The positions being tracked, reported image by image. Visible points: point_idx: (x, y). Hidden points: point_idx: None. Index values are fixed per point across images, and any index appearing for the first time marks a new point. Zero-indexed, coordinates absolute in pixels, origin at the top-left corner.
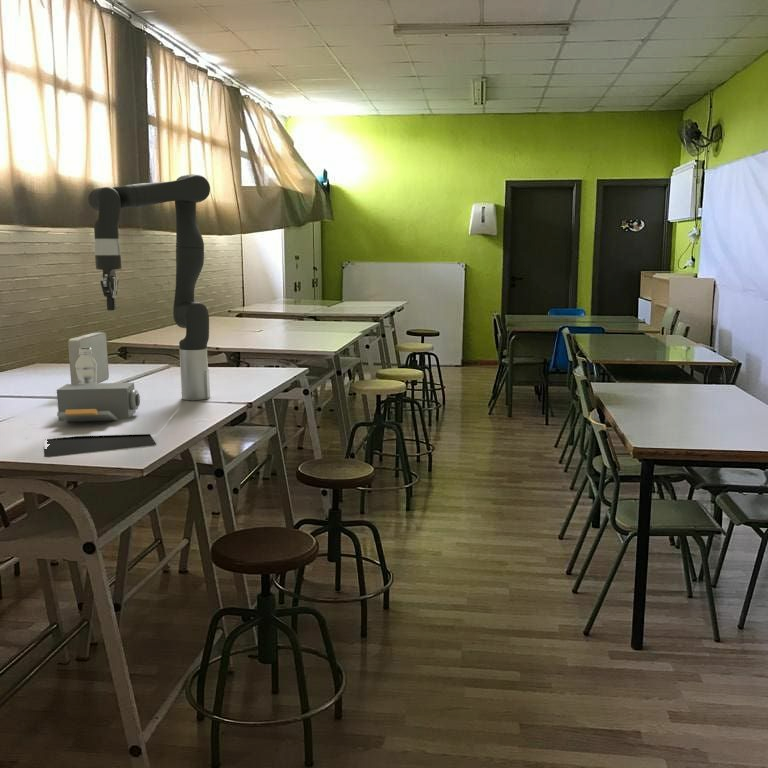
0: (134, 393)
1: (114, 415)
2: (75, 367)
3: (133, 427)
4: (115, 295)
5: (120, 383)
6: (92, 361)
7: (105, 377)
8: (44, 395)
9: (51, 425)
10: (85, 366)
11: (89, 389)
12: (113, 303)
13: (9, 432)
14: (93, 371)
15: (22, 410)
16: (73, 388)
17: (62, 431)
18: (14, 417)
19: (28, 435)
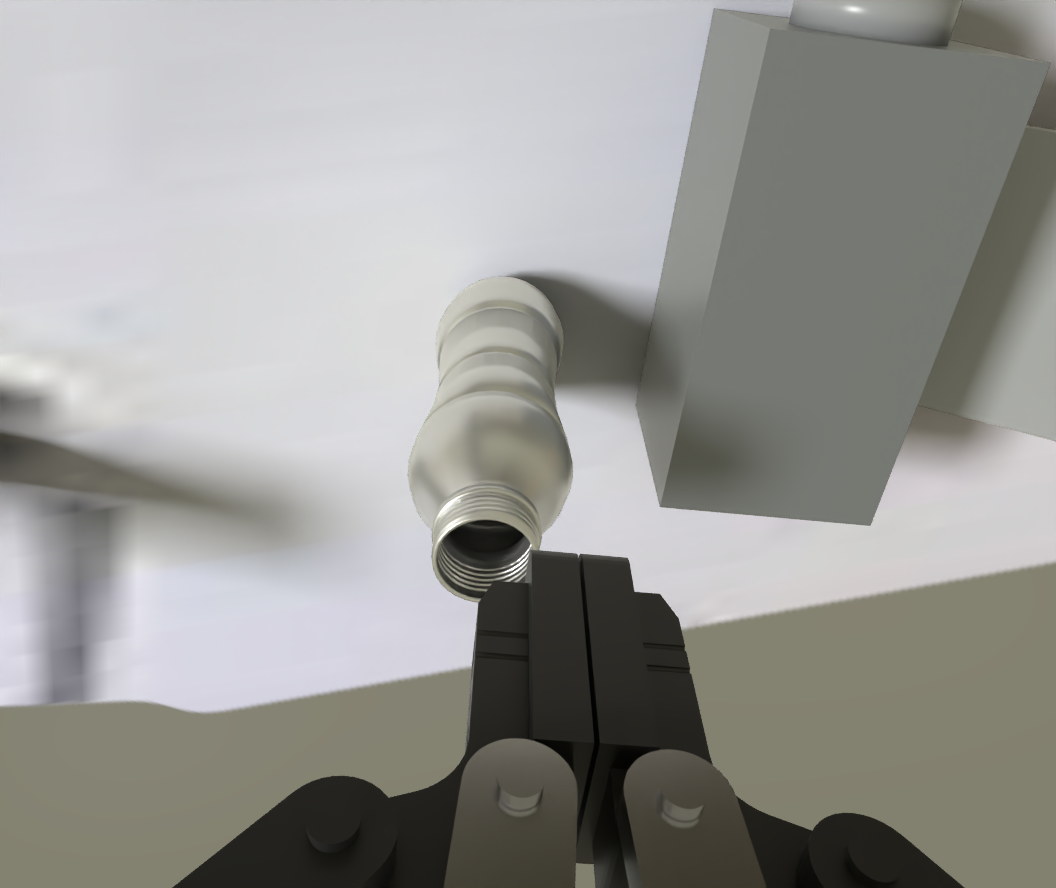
0: (953, 1)
1: (1029, 127)
2: (504, 532)
3: None
4: (542, 790)
5: (768, 147)
6: (534, 443)
7: None
8: (19, 608)
9: None
10: (571, 469)
11: (940, 343)
12: (642, 658)
13: (923, 576)
14: (540, 399)
15: (426, 622)
16: (860, 444)
17: None
18: None
19: (1031, 498)
